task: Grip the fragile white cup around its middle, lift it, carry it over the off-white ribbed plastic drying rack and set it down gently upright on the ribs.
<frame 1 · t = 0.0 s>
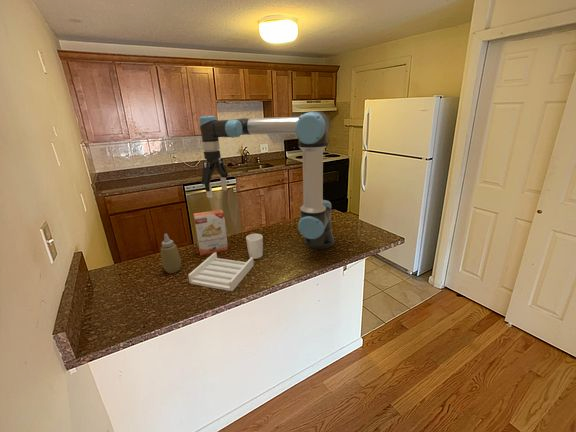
hand: (217, 193, 140), 28 cm above the countertop, fingers open, 13 cm apart
white cup: (256, 255, 136), on the countertop
cracker box: (214, 251, 142), on the countertop
drying rack: (223, 274, 122), on the countertop
squeeze bottle: (173, 270, 126), on the countertop
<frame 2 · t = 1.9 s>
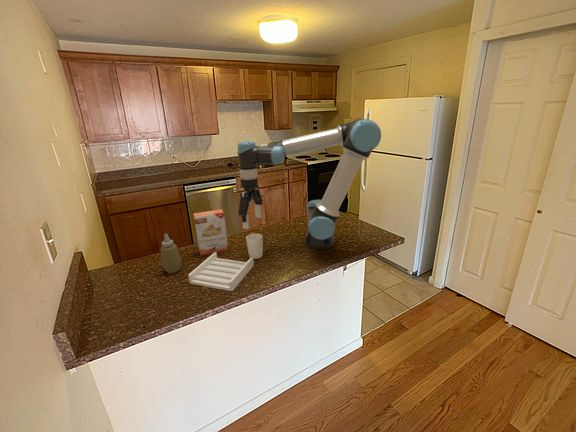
hand: (252, 222, 130), 17 cm above the countertop, fingers open, 13 cm apart
nothing on the countertop moved.
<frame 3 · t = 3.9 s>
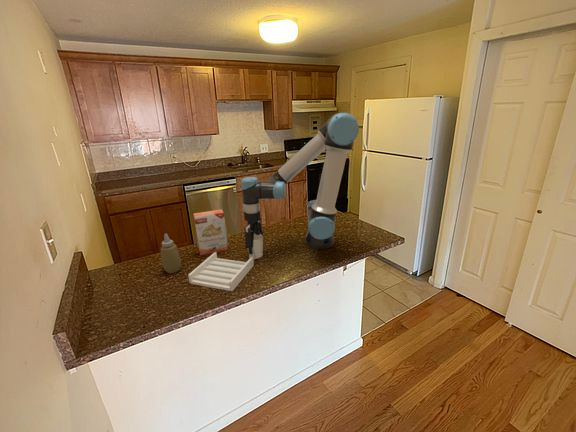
hand: (255, 254, 136), 0 cm above the countertop, fingers closed on white cup, 8 cm apart
white cup: (256, 255, 136), on the countertop, touching gripper
everything else where it was.
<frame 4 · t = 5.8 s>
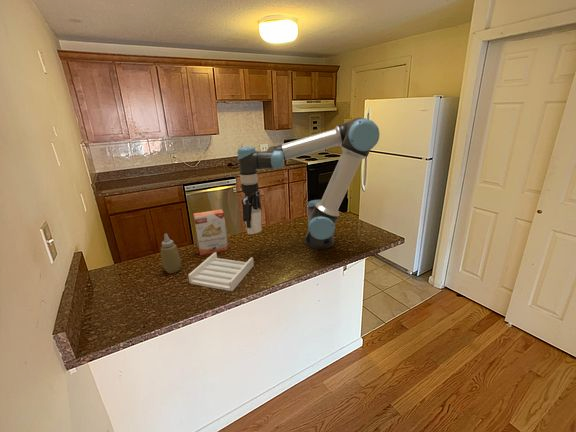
hand: (254, 230, 131), 14 cm above the countertop, fingers closed on white cup, 7 cm apart
white cup: (254, 231, 131), point 13 cm above the countertop, touching gripper
everything else where it was.
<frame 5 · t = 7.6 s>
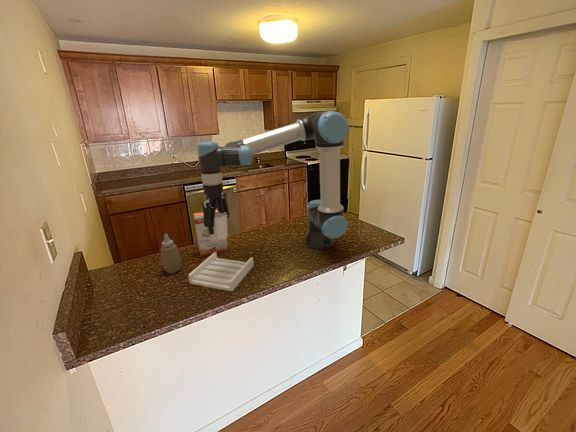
hand: (219, 236, 116), 18 cm above the countertop, fingers closed on white cup, 7 cm apart
white cup: (219, 237, 116), point 17 cm above the countertop, touching gripper
everything else where it was.
when the fingers open (4 cm above the countertop, at t = 10.7 s): white cup drops 2 cm, resting on drying rack.
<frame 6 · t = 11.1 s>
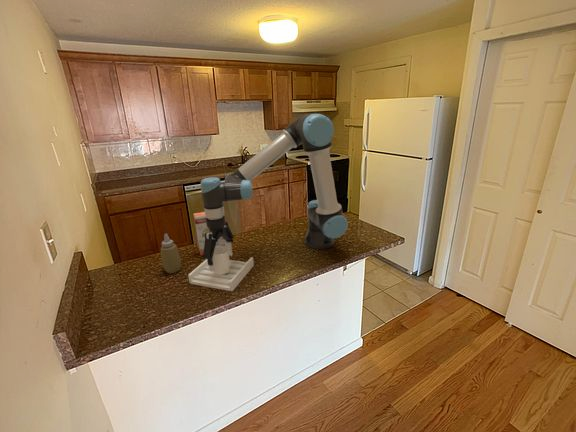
hand: (221, 262, 120), 6 cm above the countertop, fingers open, 13 cm apart
white cup: (221, 271, 120), point 2 cm above the countertop, touching drying rack
everything else where it was.
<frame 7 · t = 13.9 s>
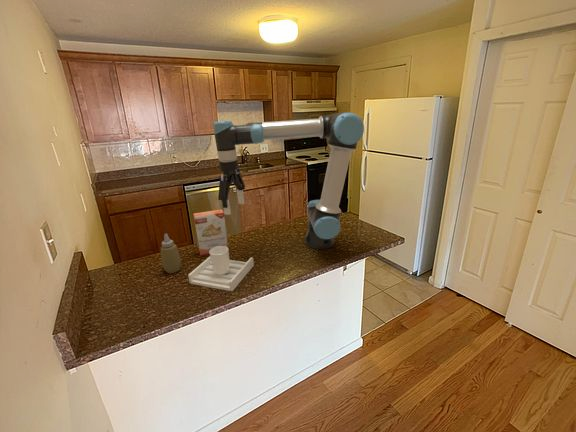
hand: (235, 209, 122), 26 cm above the countertop, fingers open, 13 cm apart
nothing on the countertop moved.
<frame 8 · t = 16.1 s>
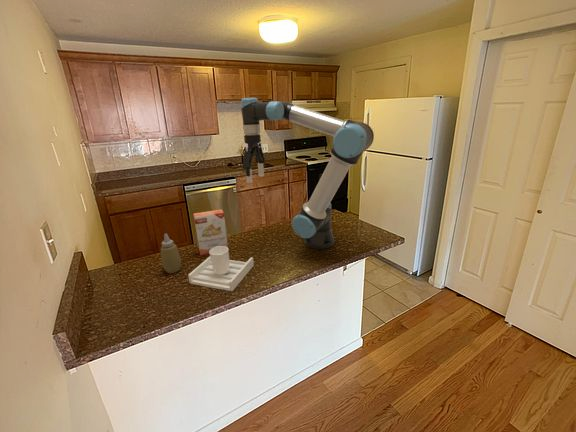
hand: (255, 179, 136), 35 cm above the countertop, fingers open, 13 cm apart
nothing on the countertop moved.
at the end: white cup inside the target area on the drying rack (0.8 cm from its centre), point 2.0 cm above the drying rack's base; white cup tilted 0°; the gripper is holding nothing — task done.
